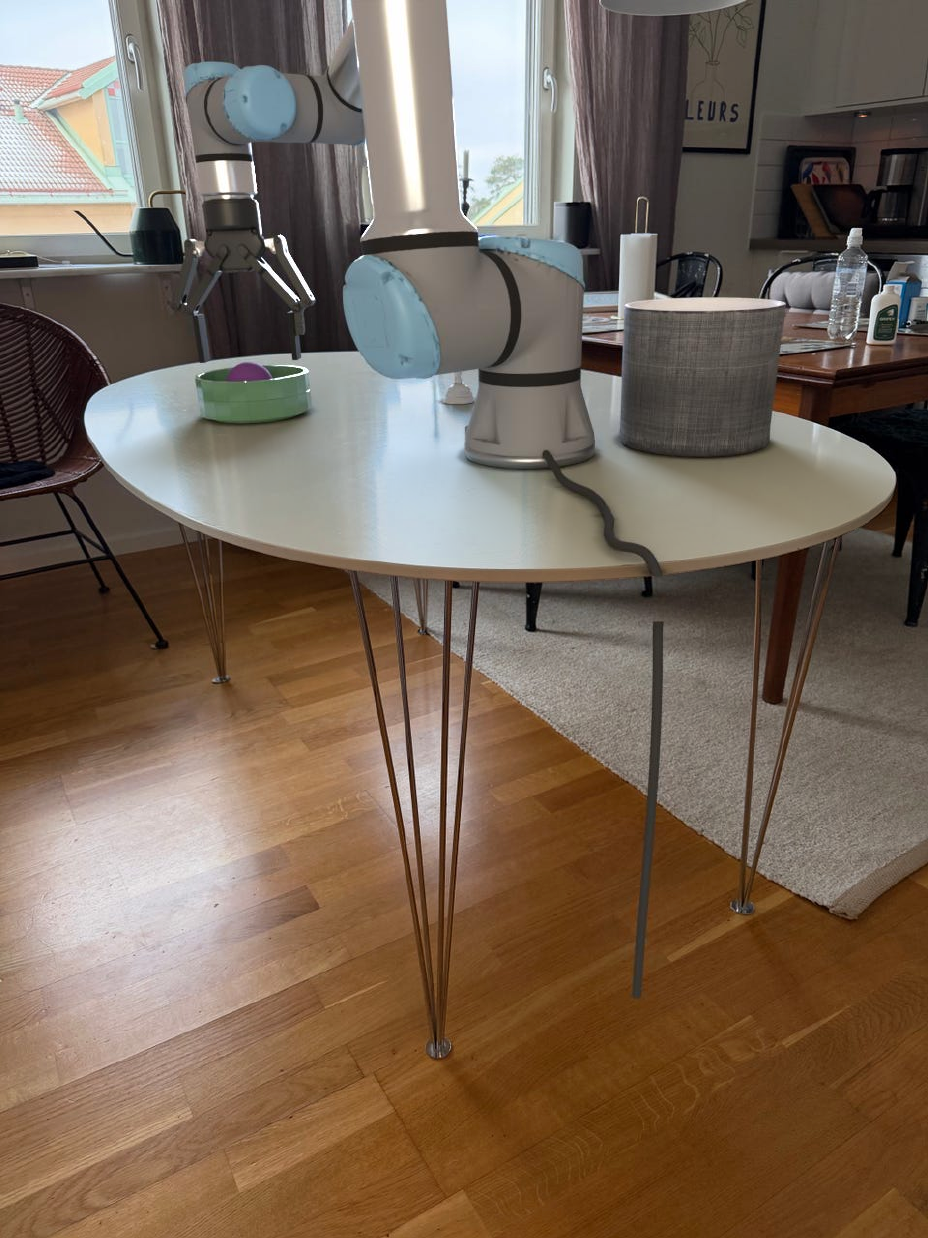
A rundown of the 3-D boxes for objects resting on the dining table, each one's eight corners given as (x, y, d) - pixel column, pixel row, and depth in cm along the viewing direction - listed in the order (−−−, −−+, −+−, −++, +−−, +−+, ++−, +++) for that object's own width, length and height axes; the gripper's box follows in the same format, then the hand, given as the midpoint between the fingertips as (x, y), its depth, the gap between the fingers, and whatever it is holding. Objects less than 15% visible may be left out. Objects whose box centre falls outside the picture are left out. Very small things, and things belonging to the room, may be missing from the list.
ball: (273, 410, 124) (259, 361, 122) (227, 418, 125) (213, 370, 122) (284, 401, 131) (272, 354, 128) (241, 409, 132) (227, 363, 129)
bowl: (298, 424, 120) (294, 380, 118) (186, 426, 121) (179, 383, 119) (321, 402, 135) (317, 363, 133) (220, 405, 136) (214, 366, 134)
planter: (603, 428, 112) (608, 300, 105) (735, 422, 113) (748, 295, 106) (641, 462, 96) (649, 313, 89) (795, 454, 97) (814, 306, 90)
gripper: (325, 195, 119) (339, 354, 128) (150, 203, 120) (176, 359, 129) (314, 193, 112) (330, 361, 121) (128, 201, 113) (157, 366, 122)
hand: (250, 360), depth 125 cm, fingers open, 13 cm apart
